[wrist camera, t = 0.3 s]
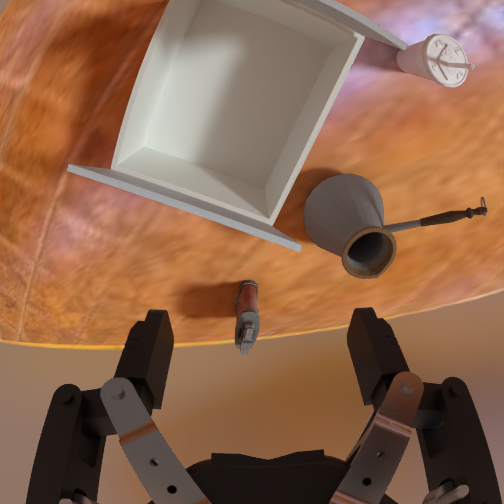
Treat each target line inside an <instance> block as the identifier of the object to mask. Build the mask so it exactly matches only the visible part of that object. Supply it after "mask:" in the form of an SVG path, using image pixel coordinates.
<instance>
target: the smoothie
mask: <svg viewBox="0 0 504 504" xmlns="http://www.w3.org/2000/svg"><path fill="white" fill-rule="evenodd" d="M396 61H397V64H398V66H399V68H400V69H401V70H402V71H403V72H405V73H408V74H412V75H416V76H419V77H423V78H426V79H429V80H432V81H435V82H436V83H437V84H439V85H441V86H444V87H457V86H459V85H461V84H462V83H463V82H464V80H465V79H466V76H467V73H468V69H474V65H473V64H468V62H467V57H466V55H465V52H464V50H463V49H462V47H461V46H460V44H459V43H458V42H457V41H456V40H455V39H453V38H452V37H450V36H448V35H445V34H433V35H431V36H428V37H427V38H426V39H425V40H424V41H421V42H419V43H416V44H413V45H411V46H408V47H407V48H406V50H405V51H404V50H399V51H398V53H397V55H396Z"/></svg>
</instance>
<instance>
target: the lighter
mask: <svg viewBox="0 0 504 504" xmlns="http://www.w3.org/2000/svg"><path fill="white" fill-rule="evenodd" d="M257 299H258V287H257V283H256V282H255V281H252V280H245V281H243V282H242V283H241V286H240V288H239V290H238V294H237V297H236V316H237V322H236V327H235V345H236V347H237V348H239V349H240V353H241V355H248V353H249V349H250V348H252V346H253V344H254V342H255V341H256V338H257V335H258V332H259V311H258V310H257Z"/></svg>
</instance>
